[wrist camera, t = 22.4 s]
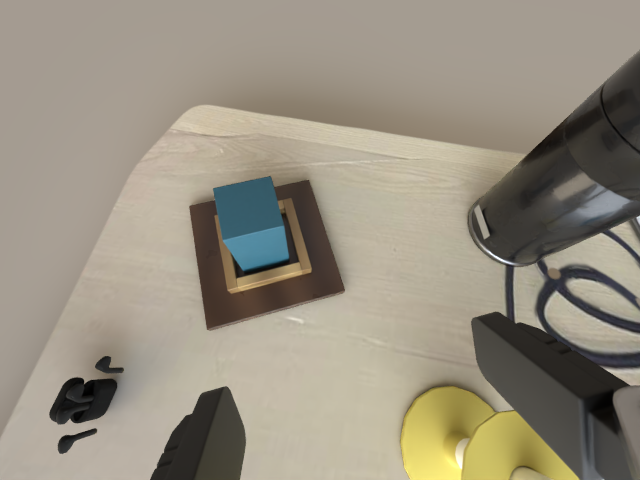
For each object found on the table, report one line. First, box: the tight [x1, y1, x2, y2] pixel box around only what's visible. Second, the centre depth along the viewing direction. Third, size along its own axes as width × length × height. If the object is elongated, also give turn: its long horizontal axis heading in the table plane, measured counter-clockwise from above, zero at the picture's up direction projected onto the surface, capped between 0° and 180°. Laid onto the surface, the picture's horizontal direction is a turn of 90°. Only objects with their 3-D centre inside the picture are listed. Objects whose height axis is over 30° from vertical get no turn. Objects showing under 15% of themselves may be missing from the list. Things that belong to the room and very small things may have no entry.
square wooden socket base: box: [189, 180, 345, 331], centre depth 32 cm, size 14×14×2 cm
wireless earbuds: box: [49, 356, 124, 454], centre depth 24 cm, size 7×2×5 cm, turn 167°
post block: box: [213, 176, 290, 273], centre depth 28 cm, size 5×5×9 cm
